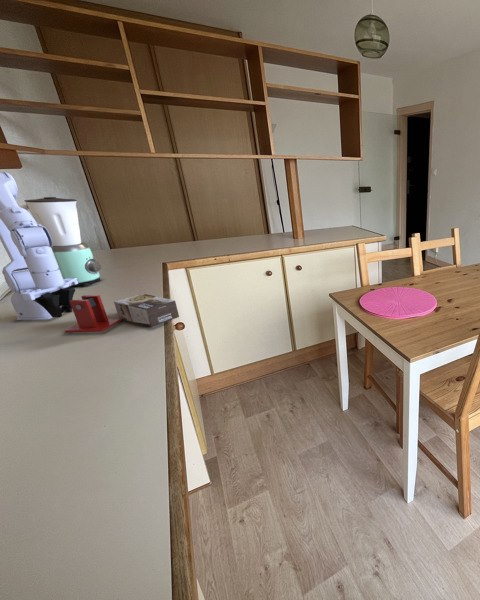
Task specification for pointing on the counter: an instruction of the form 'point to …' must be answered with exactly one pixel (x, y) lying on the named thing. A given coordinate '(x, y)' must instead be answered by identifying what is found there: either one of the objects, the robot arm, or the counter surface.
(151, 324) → the coffee box
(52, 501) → the counter surface
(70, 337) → the counter surface
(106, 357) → the counter surface
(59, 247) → the mint green blender
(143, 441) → the counter surface
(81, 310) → the lever bracket
